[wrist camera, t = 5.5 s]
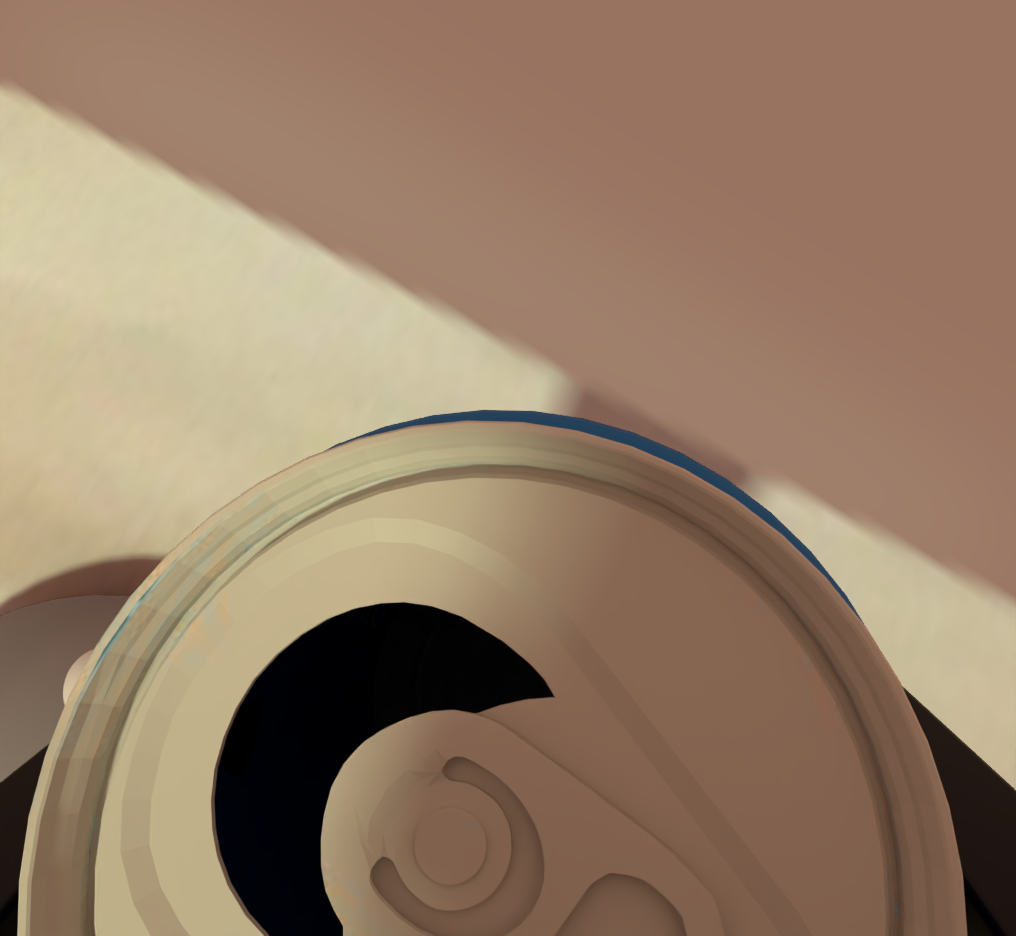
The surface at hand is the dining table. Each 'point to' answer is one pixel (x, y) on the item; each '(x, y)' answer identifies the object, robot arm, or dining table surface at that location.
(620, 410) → the dining table surface
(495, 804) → the beverage can
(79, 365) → the dining table surface
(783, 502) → the dining table surface
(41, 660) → the peg stand
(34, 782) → the robot arm
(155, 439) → the dining table surface
